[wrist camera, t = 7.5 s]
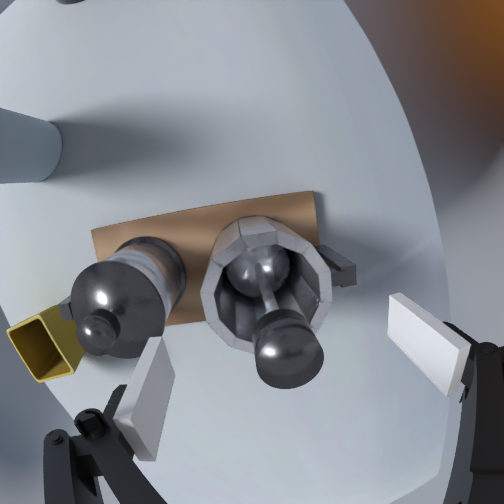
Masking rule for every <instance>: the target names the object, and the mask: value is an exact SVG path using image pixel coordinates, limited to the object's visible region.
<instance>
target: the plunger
mask: <svg viewBox="0 0 504 504" xmlns="http://www.w3.org/2000/svg"><path fill="white" fill-rule="evenodd" d="M289 266H290V265H289V258H288V255H287V253H286V251H285V249H284V248H283V247H282V246H280V245H277V244H274V245H268V246H261V247H255V248H249V249H246V250H244V251H243V252H242V253H241V254H239V255H238V256H237V257H236V258H234V259H233V260H232V261H231V262H229V263H228V264H227V265H226V271H227V275H228V278H229V280H230V282H231V284H232V285H233V286H234V287H235V288H236V289H237V290H238V291H239V292H241V293H243V294H245V295H248V296H253V297H261V296H262V298H263V301H264V305H265V308H266V312H267V313H266V314H265V315H263V316H262V317H261V318H260V319H259V320H258V321H257V323H256V324H255V326H254V329H253V333H252V340H253V347H254V354H255V361H256V367H257V372H258V374H259V376H260V378H261V379H262V380H263V381H264V382H265V383H266V384H268V385H270V386H272V387H275V388H279V389H291V388H296V387H299V386H302V385H304V384H306V383H308V382H309V381H311V380H312V379H313V378H314V377H315V376H316V375H317V374H318V373H319V371H320V369H321V367H322V365H323V361H324V353H323V349H322V347H321V345H320V344H319V342H318V340H317V338H316V336H315V335H314V333H313V331H312V329H311V327H310V326H309V324H308V322H307V320H306V319H305V317H304V316H303V315H301V314H300V313H298V312H297V311H294V310H291V309H279V307H278V304H277V302H276V299H275V297H274V294H273V292H275V291H276V290H278V289H279V288H280V287H281V286H282V285H283V283H284V282H285V280H286V278H287V276H288V273H289Z"/></svg>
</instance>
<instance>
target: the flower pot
mask: <svg viewBox="0 0 504 504" xmlns="http://www.w3.org/2000/svg"><path fill="white" fill-rule="evenodd" d="M77 327H78V326H77V325H76V322H75V320H74V319H73V320H65V321H63V318H62V315H61V312H60V310H59V307H58V305H55V306H52V307H50V308H48V309H46V310H44V311H42V312H40V313H38V314H36V315H34V316H32V317H30V318H28V319H26V320H24V321H22V322H20V323H18V324H16V325H15V326H13V327H11V328H9V329H8V330H7V334H8V336H9V338H10V340H11V341H12V343H13V345H14V347H15V348H16V350H17V352H18V353H19V355H20V356H21V358H22V360H23V361H24V363H25V364H26V366H27V368H28V369H29V371H30V372H31V374H32V375H33V377H34V378H35V380H36V381H37V382H39V383H41V382H44V381H48V380H51V379H54V378H58V377H63V376H67V375H71V374H74V373H75V371H76V369H77V367H78V365H79V363H80V360H81V358H82V356H83V354H84V351H85V349H84V348H83V347H82V346H81V345H80V343H79V341H78V339H77V334H76V331H77Z"/></svg>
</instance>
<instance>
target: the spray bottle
mask: <svg viewBox="0 0 504 504" xmlns="http://www.w3.org/2000/svg"><path fill="white" fill-rule="evenodd" d="M61 153H62V138H61V133H60V132H59V130H58V128H57V127H56V126H55V125H54V124H52V123H50V122H47V121H44V120H40V119H37V118H34V117H30V116H27V115H23V114H20V113H16V112H13V111H9V110H6V109H2V108H0V184H4V183H26V182H40V181H43V180H45V179H46V178H48V177H49V176H50V175H51V174H52V173H53V172H54V170H55V168H56V167H57V165H58V163H59V160H60V157H61Z"/></svg>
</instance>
